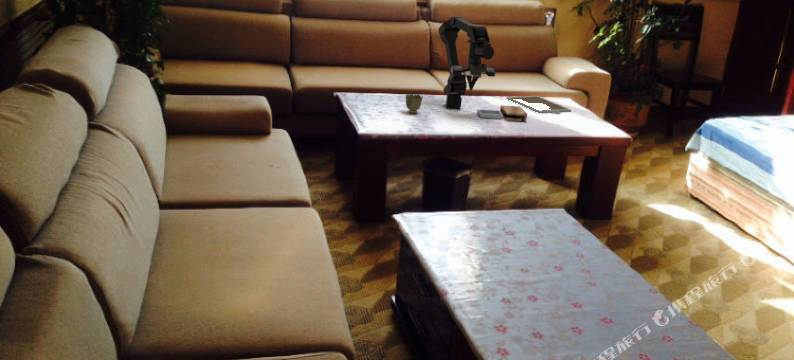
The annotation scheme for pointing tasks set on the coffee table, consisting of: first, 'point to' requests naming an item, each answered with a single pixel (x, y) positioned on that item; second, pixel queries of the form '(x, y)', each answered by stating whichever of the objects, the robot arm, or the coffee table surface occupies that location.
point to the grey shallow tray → (490, 114)
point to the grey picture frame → (536, 99)
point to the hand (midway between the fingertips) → (470, 90)
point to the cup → (413, 102)
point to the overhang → (514, 112)
